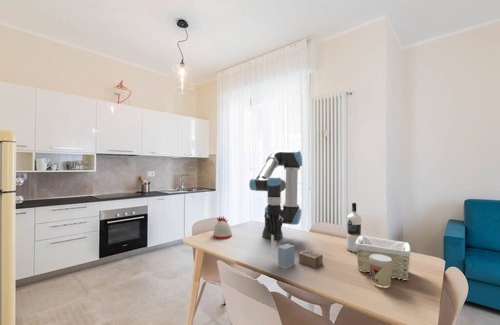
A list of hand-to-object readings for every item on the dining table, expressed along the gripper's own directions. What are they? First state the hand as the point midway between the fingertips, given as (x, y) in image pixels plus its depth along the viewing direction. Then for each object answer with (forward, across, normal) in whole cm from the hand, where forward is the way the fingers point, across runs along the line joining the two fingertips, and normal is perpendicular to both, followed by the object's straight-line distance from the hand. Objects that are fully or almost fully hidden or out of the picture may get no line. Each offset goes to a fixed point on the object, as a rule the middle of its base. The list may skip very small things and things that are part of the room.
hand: (273, 245), depth 134 cm
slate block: (+8, +9, 0) cm, 12 cm away
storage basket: (+8, +47, +30) cm, 57 cm away
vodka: (+8, +25, +49) cm, 56 cm away
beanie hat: (+8, -55, +6) cm, 56 cm away
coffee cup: (+8, +51, +15) cm, 54 cm away
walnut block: (+6, +11, +12) cm, 17 cm away
